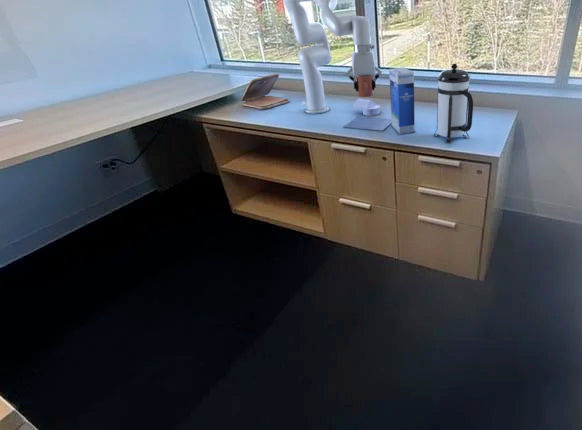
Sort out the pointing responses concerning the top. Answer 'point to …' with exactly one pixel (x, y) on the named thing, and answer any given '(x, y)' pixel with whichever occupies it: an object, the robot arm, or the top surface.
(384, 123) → the blue rectangular mat
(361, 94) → the mug
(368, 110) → the wedge on round base
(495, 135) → the top surface
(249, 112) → the top surface
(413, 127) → the string lights box
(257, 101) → the case
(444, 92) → the coffee press
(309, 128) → the top surface
